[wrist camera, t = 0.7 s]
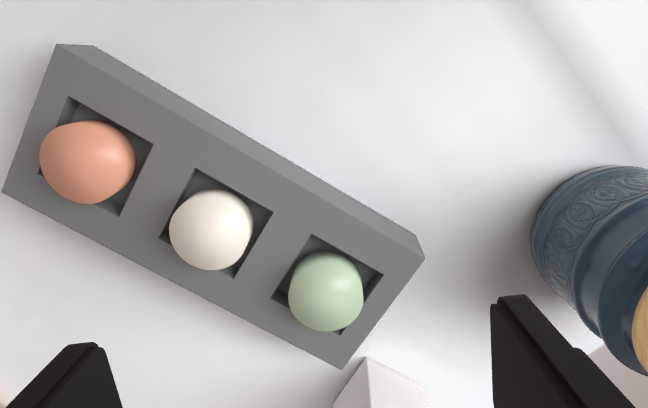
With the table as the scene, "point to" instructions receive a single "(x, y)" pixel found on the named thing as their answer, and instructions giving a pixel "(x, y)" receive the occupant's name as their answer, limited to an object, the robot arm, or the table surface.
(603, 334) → the canister
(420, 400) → the milk carton
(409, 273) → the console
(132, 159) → the button terracotta
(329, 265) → the button sage
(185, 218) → the button cream
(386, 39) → the table surface
